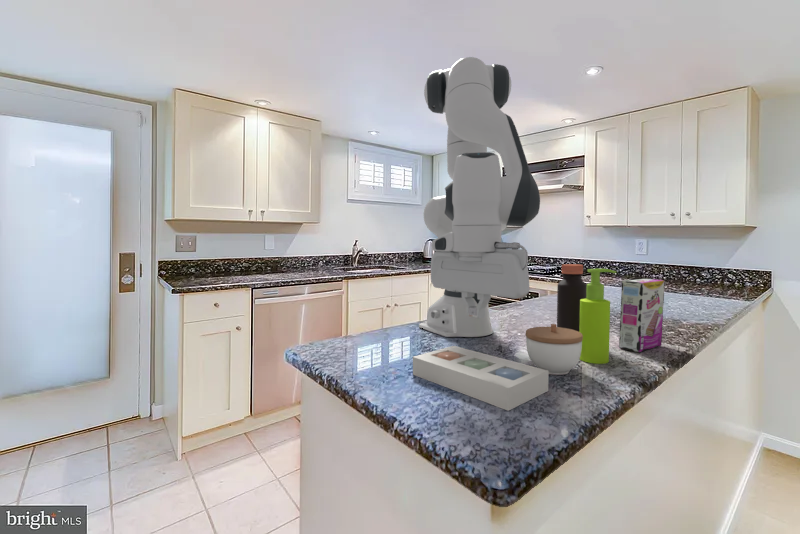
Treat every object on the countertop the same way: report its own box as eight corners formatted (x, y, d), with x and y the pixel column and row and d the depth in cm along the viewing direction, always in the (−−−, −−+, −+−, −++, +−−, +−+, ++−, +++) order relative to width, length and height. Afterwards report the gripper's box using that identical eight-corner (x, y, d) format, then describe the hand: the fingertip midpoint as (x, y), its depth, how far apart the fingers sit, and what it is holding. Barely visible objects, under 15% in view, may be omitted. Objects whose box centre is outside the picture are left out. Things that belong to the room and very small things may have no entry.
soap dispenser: (618, 364, 81) (620, 269, 80) (582, 363, 83) (584, 269, 81) (609, 356, 87) (611, 267, 86) (575, 355, 89) (577, 267, 87)
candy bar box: (640, 353, 89) (642, 282, 88) (618, 348, 93) (620, 280, 92) (663, 346, 95) (665, 279, 94) (641, 341, 99) (643, 277, 98)
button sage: (459, 378, 73) (459, 362, 72) (474, 373, 75) (474, 358, 75) (478, 385, 69) (478, 368, 69) (493, 379, 72) (493, 363, 72)
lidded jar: (538, 380, 73) (539, 331, 72) (517, 362, 84) (517, 319, 83) (593, 378, 74) (594, 329, 73) (565, 360, 85) (565, 318, 84)
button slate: (490, 389, 67) (490, 372, 67) (505, 382, 70) (505, 366, 70) (512, 396, 64) (512, 378, 64) (527, 389, 67) (527, 372, 67)
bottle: (587, 342, 100) (588, 264, 98) (584, 348, 94) (585, 265, 92) (558, 338, 103) (559, 263, 102) (554, 345, 97) (555, 265, 96)
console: (412, 374, 77) (412, 356, 77) (453, 361, 85) (453, 345, 84) (508, 410, 60) (508, 388, 60) (548, 390, 68) (548, 370, 68)
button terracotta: (432, 369, 78) (432, 354, 78) (447, 364, 81) (447, 350, 81) (449, 375, 75) (449, 359, 74) (464, 370, 77) (464, 355, 77)
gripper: (537, 242, 65) (536, 323, 66) (447, 241, 80) (447, 307, 82) (516, 242, 61) (514, 329, 62) (425, 241, 76) (425, 311, 78)
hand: (475, 316), depth 72 cm, fingers closed
